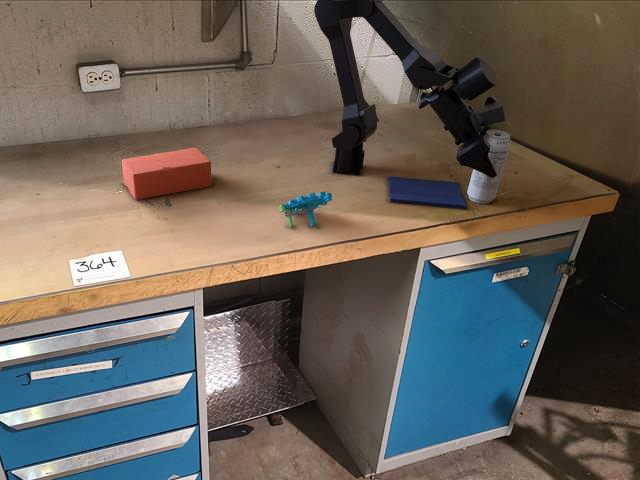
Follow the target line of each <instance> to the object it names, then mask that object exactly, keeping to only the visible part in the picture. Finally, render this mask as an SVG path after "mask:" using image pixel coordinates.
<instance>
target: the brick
mask: <svg viewBox="0 0 640 480" xmlns="http://www.w3.org/2000/svg"><path fill="white" fill-rule="evenodd" d="M121 165H122V166H121V168H122V176H123V178H122V179H123V185H124V186H126V188H127V189H128V191H129V193H130V194H131V195H132V197H133V198H134V199H135V200H136V201H138V200H143V199H148V198H154V197H159V196H166V195H171V194H175V193H180V192H186V191H192V190H197V189H203V188H208V187H210V186H211V185H212V161H211V160H210V158H209V157H207V156H206V155H205V154H204V153H203V152H201V151H200V150H199V148H198V147H190V148H184V149H179V150H173V151H167V152H166V151H165V152H160V153H159V152H158V153H154V154H147V155H146V154H145V155H142V156H141V155H140V156H134V157H128V158H124V159H121Z"/></svg>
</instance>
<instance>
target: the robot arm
mask: <svg viewBox="0 0 640 480" xmlns="http://www.w3.org/2000/svg"><path fill="white" fill-rule="evenodd" d="M313 13H314V17H315V20H316V22H317V24H318V27H319V29H320V31H321V32H322V34H323V35H324V36H325V38H326V39H327V40H328V43H329V47H330V51H331V55H332V61H333V65H334V69H335V73H336V77H337V81H338V84H339V85H338V86H339V90H340V91H339V92H340V94H341V99H342V103H343V104H342V105H343V108H342V113H341V114H342V115H341V129H342V130H341V131H340V132H339V133H337V134H336V135H335V136H333V137H332V138H331V143H332V144H331V145H332V147H333V149H335V151H334V152H335V153H334V160H333V163H332V164H333V165H332V173H336V174H347V175H358V176H359V175H361V171H362V170H363V169H364V161H365V154H366V153H365V152H366V151H365V149H364V143H366V141H367V140H368V139H369V138H370V137H371V136H373V135H374V134H375V132H376V131H377V129H378V122H379V121H380V119H379V117H378V114H377V107H376V104H375V103H373V104H369V103H368V102H367V100H366V99H365V95H364V91H363V86H362V82H361V78H360V73H359V69H358V64H357V59H356V54H355V50H354V44H353V41H352V35H351V30H352V25H353V19H355V18H363V19H364V20H365V21H366V22H367V23H368V24H369V25H370V27H371V28H372V29H373V30H374V32H375V33H376V34H377V35H378V36H379V37H380V38H381V39H382V40H383V42H384V43H385V44H386V45H387V46H388V47H389V48H390V49H391V51H392V52H393V53H394V54H395V55H396V56H397V58H398V59H399V61H400V62H401V66H402V68H403V72H404V74H405V75H406V77H407V78H408V81H409V82H410V84H411V85H412V87H414V88H415V89H417V90H419V91H422V92H421V94H420V96H419V104H418V110H422V109H423V108H425V107H427V106H428V105H429V107H430V108H431V110H432V111H433V112H434V113H435V114H436V116H437V117H438V118H439V120H440V121H441V123H442V124H443V129H444V130H445V132H447V131H448V132H449V134H450V135H451V136H452V138H453V139H454V144H455V145H456V146H457V151H456V161H457V162H458V164H460V166H461V167H463V166H464V167H468V168H470V169H472V170H473V169H474V170H477V171H479V172H481V173H483V174H485V175H487V176H489V177H491V178H494V177H496V176H497V173H496V171H495V169H494V167H493V164H492V162H491V160H490V158H489V156H488V154H489V151H490V144H489V143H488V141H487V139H486V138H485V136H484V135H485V134H486V131H488V130H490V125H493V124H500V123H504V122H506V120H507V115H506V111H505V110H506V109H505V106H504V100H501V99H500V98H499V99H497V98H496V97H495V96H494V95H493V94H491V95H488V96H485V97H484V101H483V104H480V105H479V106H477V107H475V108H474V107H473V105H472V104H469V103H466V102H465V100H468V101H469V102H471V101H473V100H475V99H476V98H478V97H480V96H481V95H483V94H484V93H486V92H487V91H489V90H491V89H492V88H494V87H496V86H497V85H498V82H499V80H498V76H497V72H495V69H494V67H492V66H491V65H490V64H489V63H488V61H486V60H484V59H483V58H482V56H481V55H477V56H476V57H474V58H473V59H471V60H470V61H469V62H468V63H467V64H466V65H464V66H462V67H461V68H459V67H456V66H454V65H451V64H448V63H446V62H445V60H444V59H443V58H442V57H440V55H438V54H436V53H435V52H434V51H433V50H432V49H431V48H428V47H426V46H424V45H422V44H420V42H418V41H417V40H416V39H415V37H413V35H412V34H411V33H410V32H409V31H408V30H407V28H406V27H405V26H404V25H403V24H402V23H401V21H400V20H399V19H398V18H397V16H395V15H394V14H393V13H392V12H391V10H390V9H389V8H388V6H386V5H385V3H384V2H383V0H316V2H315V5H314V6H313ZM450 81H451V82H450ZM449 82H450V83H449ZM445 84H446V85H445ZM433 87H435V88H433ZM431 88H433V89H432V90H431V91H429V92H426V91H427V90H429V89H431Z"/></svg>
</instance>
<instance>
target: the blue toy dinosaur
mask: <svg viewBox="0 0 640 480" xmlns="http://www.w3.org/2000/svg"><path fill="white" fill-rule="evenodd" d="M332 201H333V195H332V192H327V193H326V191H319V192H318V194H317V195H316V192H310V193H308V194H307V196H304V195H298V196H297V197H296V199H289V200H288V201H287V202H288V203H282V204H281V203H280V204H279V211H280V213H283V214H284V217H287V221H288V225H289V227H290V228H291V227H294V223H293V219H292V216H297V215H302V214H308V218H309V222H310V226H311V227H314V226H317V223H316V219H315V218H316V217H315V214H314V211H315V210H316V209H319V208H320V206H326V205H327V204H328V202H332Z"/></svg>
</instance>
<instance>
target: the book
mask: <svg viewBox="0 0 640 480" xmlns="http://www.w3.org/2000/svg"><path fill="white" fill-rule="evenodd" d="M388 189H389V201H390V202H389V203H396V204H407V205H417V206H419V205H420V206H427V207H429V206H430V207H438V208H439V207H440V208H450V209H462V210H466V207H467V204H466V201H465V199H464V197H463V194H462V190H461V187H460V184H459V182H457V181H446V180H436V179H424V178H414V177H403V176H401V177H400V176H391V175H390V176H388Z"/></svg>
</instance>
